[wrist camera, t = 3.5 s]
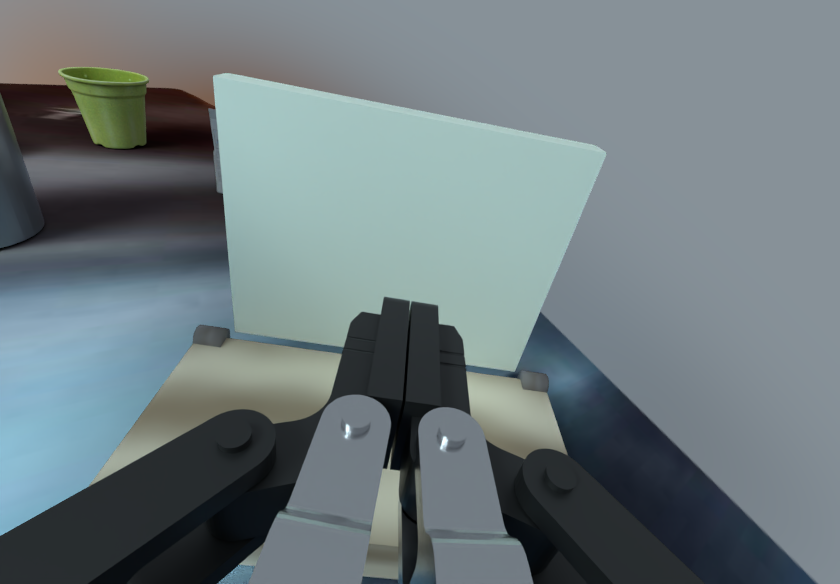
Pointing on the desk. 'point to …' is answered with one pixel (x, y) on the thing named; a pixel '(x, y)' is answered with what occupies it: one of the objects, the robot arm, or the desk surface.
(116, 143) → the plant pot
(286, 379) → the wooden base board
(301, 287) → the panel
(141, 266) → the desk surface
